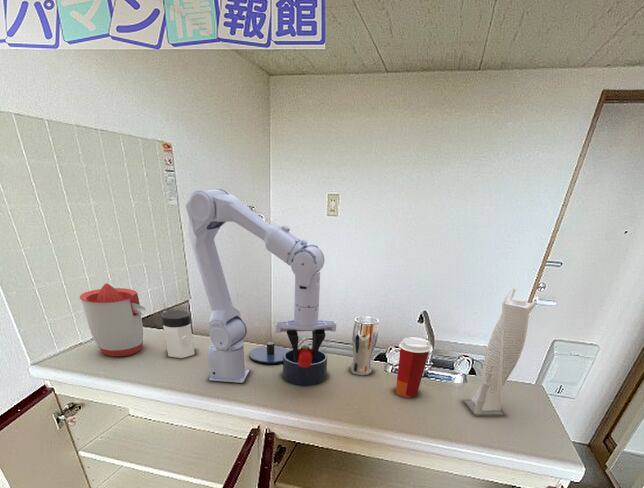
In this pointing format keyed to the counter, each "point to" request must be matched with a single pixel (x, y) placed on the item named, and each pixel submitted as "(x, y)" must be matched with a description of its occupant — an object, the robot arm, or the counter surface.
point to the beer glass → (364, 344)
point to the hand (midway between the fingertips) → (304, 359)
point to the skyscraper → (501, 355)
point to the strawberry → (305, 356)
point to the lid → (268, 353)
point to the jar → (178, 334)
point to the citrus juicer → (114, 319)
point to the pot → (304, 369)
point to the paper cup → (411, 365)
